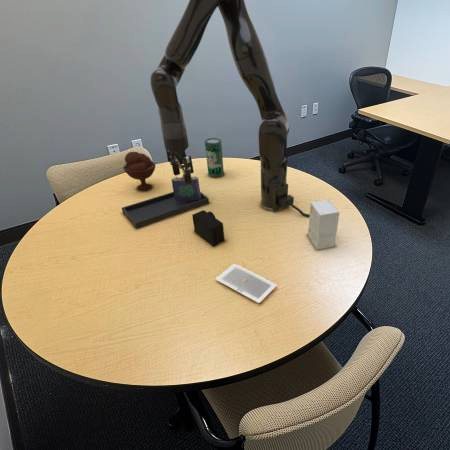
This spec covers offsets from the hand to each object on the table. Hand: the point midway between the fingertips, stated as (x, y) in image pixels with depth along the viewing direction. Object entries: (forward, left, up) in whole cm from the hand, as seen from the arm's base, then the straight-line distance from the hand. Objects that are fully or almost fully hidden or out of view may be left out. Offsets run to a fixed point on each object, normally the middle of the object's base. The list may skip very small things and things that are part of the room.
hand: (182, 178), depth 118 cm
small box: (-48, -22, -10) cm, 54 cm away
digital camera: (-24, +4, -10) cm, 26 cm away
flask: (0, -1, -9) cm, 9 cm away
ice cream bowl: (+19, +8, -10) cm, 23 cm away
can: (+13, -20, -10) cm, 26 cm away
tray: (0, +7, -10) cm, 12 cm away
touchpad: (-49, +8, -10) cm, 50 cm away
